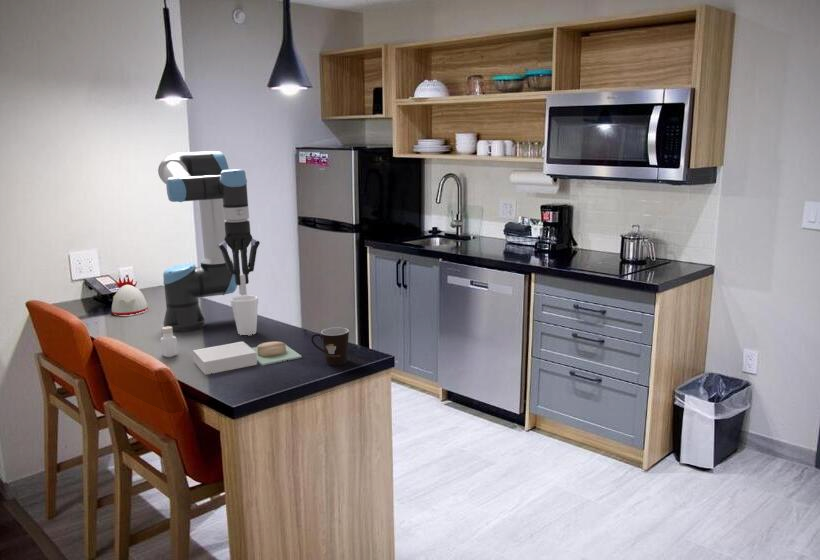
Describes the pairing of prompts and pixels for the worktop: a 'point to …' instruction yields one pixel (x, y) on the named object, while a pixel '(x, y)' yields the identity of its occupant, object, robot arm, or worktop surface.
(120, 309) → the white dome hat
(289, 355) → the rubber mat
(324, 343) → the coffee mug
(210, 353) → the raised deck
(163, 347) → the pepper shaker
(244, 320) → the foam cup
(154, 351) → the worktop surface
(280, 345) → the tan flat disc
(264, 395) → the worktop surface
